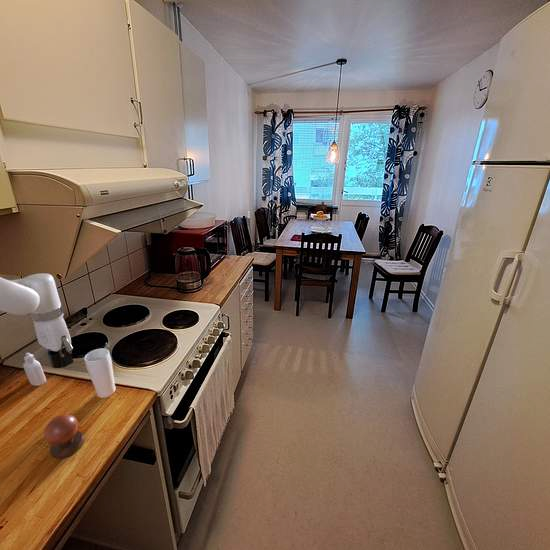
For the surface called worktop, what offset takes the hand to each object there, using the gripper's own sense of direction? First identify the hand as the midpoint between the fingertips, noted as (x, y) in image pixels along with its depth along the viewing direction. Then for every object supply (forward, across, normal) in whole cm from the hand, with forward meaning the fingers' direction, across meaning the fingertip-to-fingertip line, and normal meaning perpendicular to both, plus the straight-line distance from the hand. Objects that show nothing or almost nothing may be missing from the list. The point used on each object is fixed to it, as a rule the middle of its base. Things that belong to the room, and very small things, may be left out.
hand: (62, 361), depth 94 cm
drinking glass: (+9, +16, +3) cm, 18 cm away
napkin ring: (+1, 0, 0) cm, 1 cm away
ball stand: (+9, +24, -14) cm, 29 cm away
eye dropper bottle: (+9, -9, -4) cm, 13 cm away
